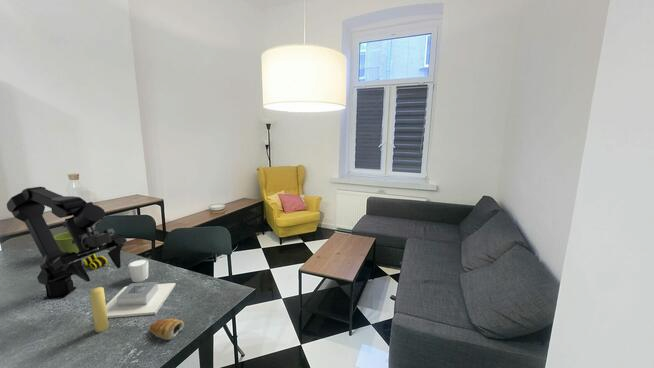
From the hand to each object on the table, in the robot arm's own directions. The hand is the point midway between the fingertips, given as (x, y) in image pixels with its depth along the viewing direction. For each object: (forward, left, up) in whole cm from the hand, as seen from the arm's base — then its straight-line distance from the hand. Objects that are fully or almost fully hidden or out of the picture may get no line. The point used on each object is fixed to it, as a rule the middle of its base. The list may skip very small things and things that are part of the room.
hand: (104, 274), depth 88 cm
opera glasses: (-25, +35, -14) cm, 45 cm away
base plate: (+7, +5, -13) cm, 16 cm away
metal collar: (+7, +5, -13) cm, 16 cm away
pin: (+3, -9, -13) cm, 16 cm away
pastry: (+23, -13, -14) cm, 30 cm away
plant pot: (-40, +46, -13) cm, 62 cm away
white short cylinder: (0, +21, -13) cm, 25 cm away
